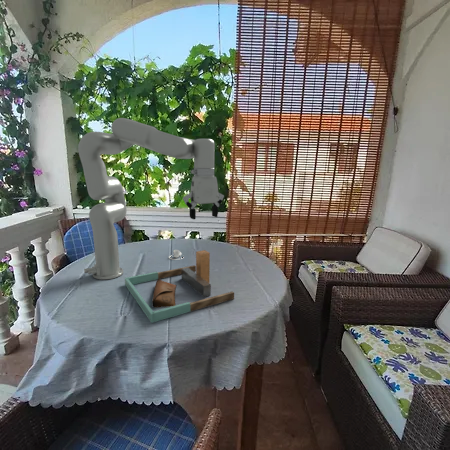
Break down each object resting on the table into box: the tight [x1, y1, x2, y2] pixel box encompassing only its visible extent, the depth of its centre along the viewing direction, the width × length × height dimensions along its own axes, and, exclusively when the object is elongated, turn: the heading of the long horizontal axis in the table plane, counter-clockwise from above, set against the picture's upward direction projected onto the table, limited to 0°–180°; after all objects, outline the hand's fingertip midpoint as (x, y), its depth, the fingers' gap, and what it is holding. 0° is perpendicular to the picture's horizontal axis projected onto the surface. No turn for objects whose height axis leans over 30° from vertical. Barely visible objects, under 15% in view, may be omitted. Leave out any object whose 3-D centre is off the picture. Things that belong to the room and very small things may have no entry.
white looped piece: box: [168, 249, 185, 261], centre depth 150 cm, size 9×8×4 cm
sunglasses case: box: [151, 279, 177, 309], centre depth 108 cm, size 18×7×7 cm
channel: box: [157, 264, 235, 312], centre depth 115 cm, size 18×32×2 cm, turn 33°
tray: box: [124, 271, 191, 324], centre depth 106 cm, size 14×32×3 cm, turn 33°
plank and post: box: [181, 249, 212, 298], centre depth 116 cm, size 7×20×14 cm, turn 33°
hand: (204, 217), depth 111 cm, fingers open, 9 cm apart
